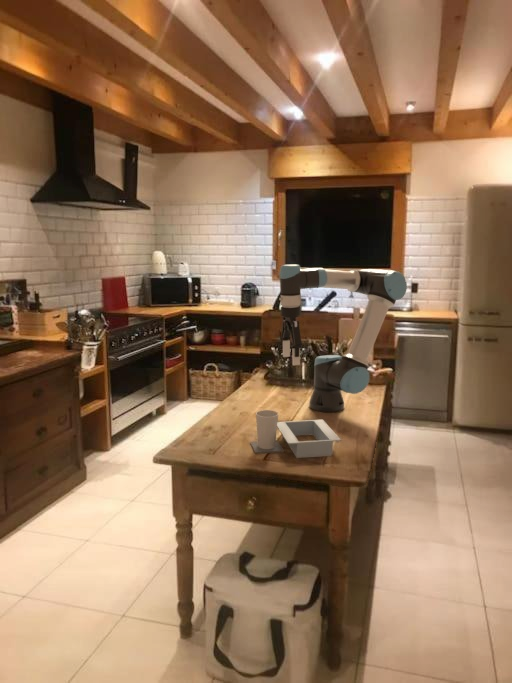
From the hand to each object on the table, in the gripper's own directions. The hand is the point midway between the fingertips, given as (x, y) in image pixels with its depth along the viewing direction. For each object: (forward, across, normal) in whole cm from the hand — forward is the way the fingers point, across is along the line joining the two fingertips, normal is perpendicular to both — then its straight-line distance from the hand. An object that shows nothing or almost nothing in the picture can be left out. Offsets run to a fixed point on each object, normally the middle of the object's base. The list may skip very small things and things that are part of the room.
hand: (291, 360), depth 214 cm
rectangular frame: (+26, +20, 0) cm, 33 cm away
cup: (+26, +19, -15) cm, 35 cm away
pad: (+26, +19, -15) cm, 36 cm away
